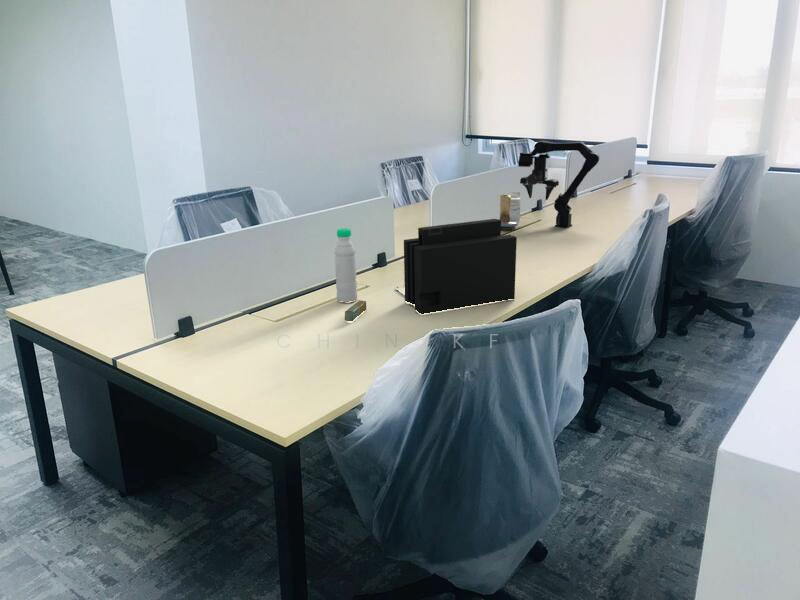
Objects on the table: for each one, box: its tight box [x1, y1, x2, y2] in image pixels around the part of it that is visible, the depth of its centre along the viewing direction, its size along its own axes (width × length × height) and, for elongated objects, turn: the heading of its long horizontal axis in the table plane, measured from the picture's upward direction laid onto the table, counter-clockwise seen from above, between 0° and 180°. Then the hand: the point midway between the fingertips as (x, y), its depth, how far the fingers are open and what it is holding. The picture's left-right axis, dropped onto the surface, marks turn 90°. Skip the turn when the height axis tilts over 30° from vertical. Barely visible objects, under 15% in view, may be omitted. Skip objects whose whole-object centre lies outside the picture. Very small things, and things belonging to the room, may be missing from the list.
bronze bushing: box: [499, 194, 512, 223], centre depth 327 cm, size 5×5×13 cm
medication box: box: [344, 299, 367, 321], centre depth 214 cm, size 12×3×4 cm, turn 161°
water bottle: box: [333, 227, 358, 302], centre depth 226 cm, size 7×7×25 cm
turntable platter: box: [498, 218, 519, 228], centre depth 329 cm, size 13×13×1 cm
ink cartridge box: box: [510, 191, 521, 222], centre depth 344 cm, size 9×5×15 cm, turn 84°
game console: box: [403, 218, 518, 314], centre depth 229 cm, size 35×30×27 cm
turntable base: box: [501, 226, 516, 231], centre depth 330 cm, size 10×10×2 cm
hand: (538, 199), depth 332 cm, fingers open, 9 cm apart
